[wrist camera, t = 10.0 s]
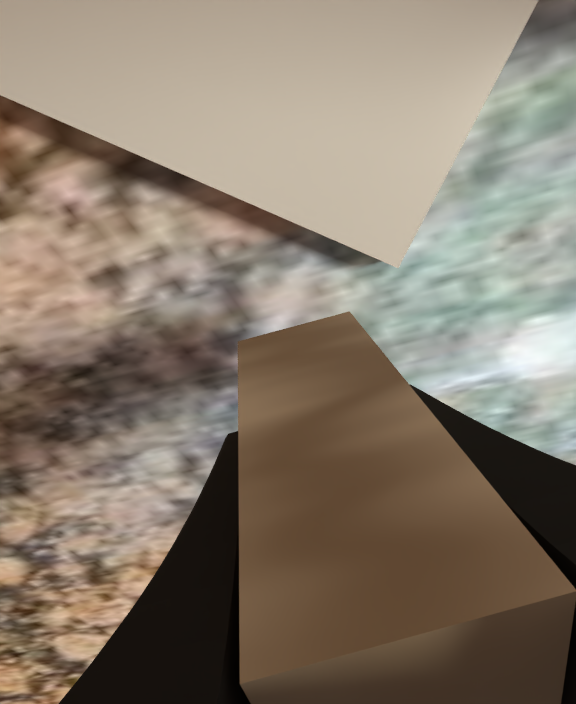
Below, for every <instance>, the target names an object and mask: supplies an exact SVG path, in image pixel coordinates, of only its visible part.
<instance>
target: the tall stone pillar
mask: <svg viewBox="0 0 576 704" xmlns="http://www.w3.org/2000/svg"><path fill="white" fill-rule="evenodd" d="M238 463H239V644H240V685H241V687H242V689H243V691H244V692H245V694H246V696H247V698H248V700H249V701H250V703H251V704H561V699H562V692H563V686H564V679H565V672H566V665H567V658H568V651H569V644H570V637H571V630H572V623H573V616H574V609H575V602H576V589H575V588H574V587H573V585H572V584H571V583H570V582H569V580H568V579H567V578H566V577H565V575H564V574H563V573H562V572H561V571H560V569H559V568H558V567H557V566H556V564H555V563H554V562H553V561H552V560H551V558H550V557H549V556H548V555H547V553H546V552H545V551H544V550H543V548H542V547H541V546H540V545H539V544H538V542H537V541H536V540H535V539H534V537H533V536H532V535H531V534H530V532H529V531H528V530H527V529H526V528H525V526H524V525H523V524H522V523H521V521H520V520H519V519H518V518H517V517H516V515H515V514H514V513H513V512H512V510H511V509H510V508H509V507H508V505H507V504H506V503H505V502H504V501H503V499H502V498H501V497H500V496H499V494H498V493H497V492H496V491H495V490H494V488H493V487H492V486H491V485H490V483H489V482H488V481H487V480H486V478H485V477H484V476H483V475H482V474H481V472H480V471H479V470H478V469H477V467H476V466H475V465H474V464H473V463H472V461H471V460H470V459H469V458H468V456H467V455H466V454H465V453H464V451H463V450H462V449H461V448H460V447H459V445H458V444H457V443H456V442H455V440H454V439H453V438H452V437H451V436H450V434H449V433H448V432H447V431H446V429H445V428H444V427H443V426H442V424H441V423H440V422H439V421H438V420H437V418H436V417H435V416H434V415H433V413H432V412H431V411H430V410H429V409H428V407H427V406H426V405H425V404H424V402H423V401H422V400H421V399H420V397H419V396H418V395H417V394H416V393H415V391H414V390H413V389H412V388H411V386H410V385H409V384H408V383H407V382H406V380H405V379H404V378H403V377H402V375H401V374H400V373H399V372H398V370H397V369H396V368H395V367H394V366H393V364H392V363H391V362H390V361H389V359H388V358H387V357H386V356H385V355H384V353H383V352H382V351H381V350H380V348H379V347H378V346H377V345H376V343H375V342H374V341H373V340H372V339H371V337H370V336H369V335H368V334H367V332H366V331H365V330H364V329H363V328H362V326H361V325H360V324H359V323H358V321H357V320H356V319H355V318H354V316H353V315H352V314H351V313H350V312H346V313H342V314H338V315H335V316H331V317H327V318H323V319H320V320H316V321H312V322H309V323H305V324H301V325H297V326H294V327H290V328H286V329H283V330H279V331H275V332H271V333H268V334H264V335H260V336H257V337H253V338H249V339H246V340H242V341H238Z"/></svg>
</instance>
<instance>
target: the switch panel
mask: <svg viewBox="0 0 576 704" xmlns="http://www.w3.org/2000/svg"><path fill="white" fill-rule="evenodd" d="M537 2H538V0H0V95H1V96H3V97H6V98H8V99H10V100H13V101H15V102H17V103H19V104H22V105H24V106H26V107H29V108H31V109H33V110H36V111H38V112H40V113H42V114H45V115H47V116H49V117H52V118H54V119H56V120H59V121H61V122H63V123H65V124H68V125H70V126H72V127H75V128H77V129H79V130H82V131H84V132H86V133H88V134H91V135H93V136H95V137H98V138H100V139H102V140H105V141H107V142H109V143H111V144H114V145H116V146H118V147H121V148H123V149H125V150H128V151H130V152H132V153H134V154H137V155H139V156H141V157H144V158H146V159H148V160H151V161H153V162H155V163H157V164H160V165H162V166H164V167H167V168H169V169H171V170H174V171H176V172H178V173H180V174H183V175H185V176H187V177H190V178H192V179H194V180H197V181H199V182H201V183H203V184H206V185H208V186H210V187H213V188H215V189H217V190H220V191H222V192H224V193H226V194H229V195H231V196H233V197H236V198H238V199H240V200H243V201H245V202H247V203H249V204H252V205H254V206H256V207H259V208H261V209H263V210H266V211H268V212H270V213H272V214H275V215H277V216H279V217H282V218H284V219H286V220H289V221H291V222H293V223H295V224H298V225H300V226H302V227H305V228H307V229H309V230H312V231H314V232H316V233H318V234H321V235H323V236H325V237H328V238H330V239H332V240H335V241H337V242H339V243H341V244H344V245H346V246H348V247H351V248H353V249H355V250H358V251H360V252H362V253H364V254H367V255H369V256H371V257H374V258H376V259H378V260H381V261H383V262H385V263H387V264H390V265H392V266H394V267H397V268H399V266H400V264H401V262H402V260H403V258H404V256H405V254H406V252H407V250H408V248H409V247H410V245H411V243H412V241H413V239H414V237H415V235H416V233H417V231H418V229H419V227H420V226H421V224H422V222H423V220H424V218H425V216H426V214H427V212H428V210H429V208H430V206H431V205H432V203H433V201H434V199H435V197H436V195H437V193H438V191H439V189H440V187H441V185H442V184H443V182H444V180H445V178H446V176H447V174H448V172H449V170H450V168H451V166H452V164H453V163H454V161H455V159H456V157H457V155H458V153H459V151H460V149H461V147H462V145H463V143H464V142H465V140H466V138H467V136H468V134H469V132H470V130H471V128H472V126H473V124H474V122H475V121H476V119H477V117H478V115H479V113H480V111H481V109H482V107H483V105H484V103H485V101H486V100H487V98H488V96H489V94H490V92H491V90H492V88H493V86H494V84H495V82H496V81H497V79H498V77H499V75H500V73H501V71H502V69H503V67H504V65H505V63H506V61H507V60H508V58H509V56H510V54H511V52H512V50H513V48H514V46H515V44H516V42H517V40H518V39H519V37H520V35H521V33H522V31H523V29H524V27H525V25H526V23H527V21H528V19H529V18H530V16H531V14H532V12H533V10H534V8H535V6H536V4H537Z"/></svg>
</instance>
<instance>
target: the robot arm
mask: <svg viewBox="0 0 576 704" xmlns="http://www.w3.org/2000/svg"><path fill="white" fill-rule="evenodd" d="M410 386H411V388H412V389H413V390H414V391H415V393H416V394H417V395H418V396H419V397H420V399H421V400H422V401H423V402H424V404H425V405H426V406H427V407H428V409H429V410H430V411H431V412H432V413H433V415H434V416H435V417H436V418H437V420H438V421H439V422H440V423H441V424H442V426H443V427H444V428H445V429H446V431H447V432H448V433H449V434H450V436H451V437H452V438H453V439H454V440H455V442H456V443H457V444H458V445H459V447H460V448H461V449H462V450H463V451H464V453H465V454H466V455H467V456H468V458H469V459H470V460H471V461H472V463H473V464H474V465H475V466H476V467H477V469H478V470H479V471H480V472H481V474H482V475H483V476H484V477H485V478H486V480H487V481H488V482H489V483H490V485H491V486H492V487H493V488H494V490H495V491H496V492H497V493H498V494H499V496H500V497H501V498H502V499H503V501H504V502H505V503H506V504H507V505H508V507H509V508H510V509H511V510H512V512H513V513H514V514H515V515H516V517H517V518H518V519H519V520H520V521H521V523H522V524H523V525H524V526H525V528H526V529H527V530H528V531H529V532H530V534H531V535H532V536H533V537H534V539H535V540H536V541H537V542H538V544H539V545H540V546H541V547H542V548H543V550H544V551H545V552H546V553H547V555H548V556H549V557H550V558H551V560H552V561H553V562H554V563H555V564H556V566H557V567H558V568H559V569H560V571H561V572H562V573H563V574H564V575H565V577H566V578H567V579H568V580H569V582H570V583H571V584H572V585H573V587H574V588H575V589H576V465H573V464H571V463H568V462H565V461H563V460H560V459H558V458H555V457H553V456H551V455H548V454H546V453H543V452H541V451H539V450H536V449H534V448H532V447H530V446H528V445H525V444H523V443H521V442H519V441H517V440H514V439H512V438H510V437H508V436H506V435H504V434H502V433H500V432H498V431H495V430H493V429H491V428H489V427H487V426H485V425H483V424H481V423H479V422H478V421H476V420H474V419H472V418H470V417H468V416H466V415H464V414H462V413H461V412H459V411H457V410H455V409H453V408H451V407H450V406H448V405H446V404H444V403H442V402H441V401H439V400H437V399H435V398H433V397H432V396H430V395H428V394H426V393H425V392H423V391H421V390H419V389H417V388H416V387H414V386H412V385H410ZM59 704H251V703H250V701H249V700H248V698H247V696H246V694H245V692H244V691H243V689H242V687H241V685H240V644H239V463H238V431H237V432H233V433H230V434H228V435H227V437H226V438H225V441H224V443H223V445H222V448H221V450H220V452H219V455H218V457H217V459H216V462H215V464H214V466H213V468H212V471H211V473H210V475H209V477H208V479H207V481H206V483H205V485H204V487H203V490H202V492H201V494H200V496H199V498H198V500H197V502H196V504H195V506H194V508H193V510H192V512H191V513H190V515H189V517H188V519H187V521H186V522H185V524H184V526H183V528H182V530H181V531H180V533H179V535H178V537H177V539H176V540H175V542H174V544H173V546H172V547H171V549H170V551H169V552H168V554H167V556H166V557H165V559H164V561H163V562H162V564H161V566H160V567H159V569H158V570H157V572H156V573H155V575H154V577H153V578H152V580H151V581H150V583H149V584H148V586H147V587H146V589H145V590H144V592H143V593H142V595H141V596H140V598H139V599H138V601H137V602H136V604H135V605H134V606H133V608H132V609H131V610H130V612H129V613H128V615H127V616H126V617H125V619H124V620H123V622H122V623H121V624H120V626H119V627H118V628H117V630H116V631H115V632H114V634H113V635H112V636H111V638H110V639H109V640H108V642H107V643H106V644H105V646H104V647H103V648H102V650H101V651H100V652H99V654H98V655H97V656H96V658H95V659H94V660H93V662H92V663H91V664H90V666H89V667H88V668H87V669H86V671H85V672H84V673H83V674H82V676H81V677H80V678H79V679H78V681H77V682H76V683H75V684H74V685H73V687H72V688H71V689H70V690H69V692H68V693H67V694H66V695H65V697H64V698H63V699H62V700H61V701H60V703H59ZM561 704H576V602H575V609H574V616H573V623H572V630H571V637H570V644H569V651H568V658H567V665H566V672H565V679H564V686H563V692H562V699H561Z"/></svg>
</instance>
